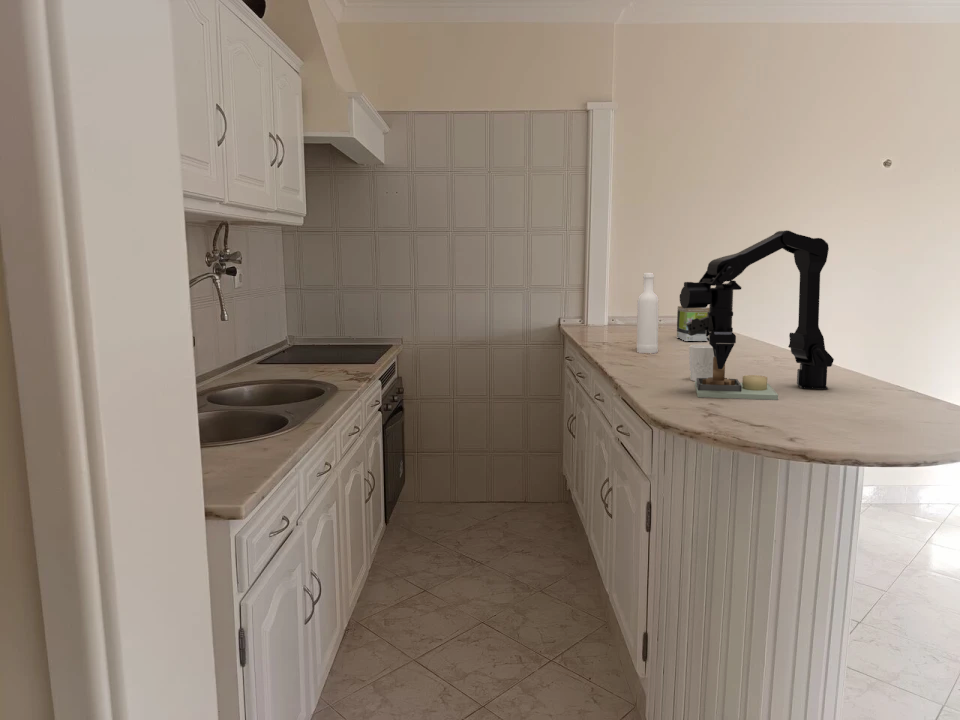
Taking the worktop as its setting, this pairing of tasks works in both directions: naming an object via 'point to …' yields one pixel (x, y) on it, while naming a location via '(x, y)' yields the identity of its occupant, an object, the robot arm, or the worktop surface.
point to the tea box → (686, 316)
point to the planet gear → (718, 376)
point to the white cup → (701, 361)
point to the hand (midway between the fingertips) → (718, 366)
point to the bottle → (647, 317)
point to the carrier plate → (738, 389)
